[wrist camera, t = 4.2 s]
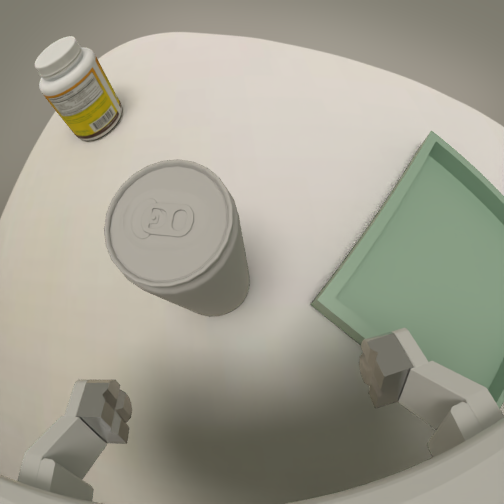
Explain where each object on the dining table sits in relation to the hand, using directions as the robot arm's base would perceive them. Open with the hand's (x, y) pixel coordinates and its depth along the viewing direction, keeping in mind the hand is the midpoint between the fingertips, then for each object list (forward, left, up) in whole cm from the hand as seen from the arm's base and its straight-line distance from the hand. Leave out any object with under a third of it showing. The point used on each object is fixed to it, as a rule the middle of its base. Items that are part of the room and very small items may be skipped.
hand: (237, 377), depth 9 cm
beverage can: (+5, -2, -11) cm, 13 cm away
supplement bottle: (+25, -6, -11) cm, 28 cm away
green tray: (-10, -14, -11) cm, 21 cm away
